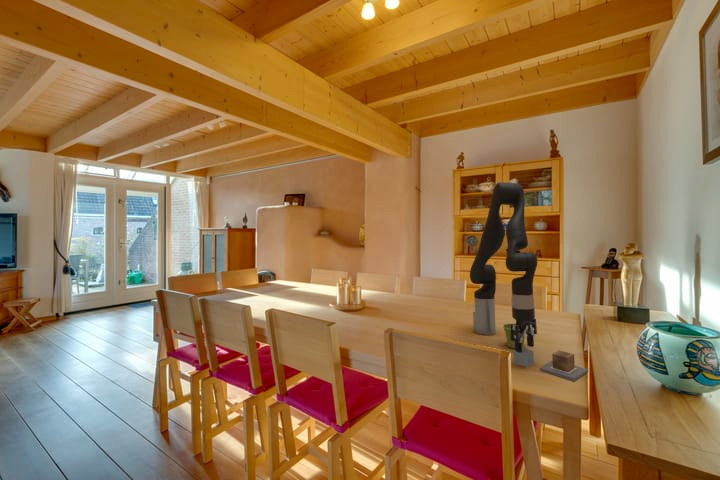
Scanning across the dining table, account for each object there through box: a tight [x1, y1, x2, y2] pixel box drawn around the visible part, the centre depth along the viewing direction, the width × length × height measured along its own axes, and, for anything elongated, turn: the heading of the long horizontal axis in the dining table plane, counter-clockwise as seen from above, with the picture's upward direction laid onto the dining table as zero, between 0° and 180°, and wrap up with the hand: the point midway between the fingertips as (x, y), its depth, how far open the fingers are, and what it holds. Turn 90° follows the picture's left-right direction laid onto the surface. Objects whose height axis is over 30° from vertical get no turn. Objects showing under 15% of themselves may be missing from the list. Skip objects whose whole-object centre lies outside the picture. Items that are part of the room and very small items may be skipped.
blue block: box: [512, 347, 535, 369], centre depth 120 cm, size 5×5×5 cm
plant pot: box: [502, 323, 526, 349], centre depth 137 cm, size 9×9×9 cm
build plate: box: [539, 360, 589, 382], centre depth 112 cm, size 11×11×1 cm
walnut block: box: [551, 349, 576, 372], centre depth 112 cm, size 5×5×5 cm
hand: (524, 349), depth 119 cm, fingers open, 8 cm apart
